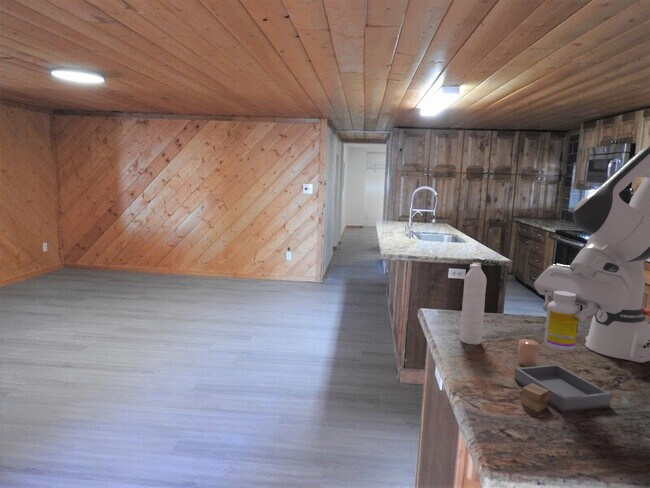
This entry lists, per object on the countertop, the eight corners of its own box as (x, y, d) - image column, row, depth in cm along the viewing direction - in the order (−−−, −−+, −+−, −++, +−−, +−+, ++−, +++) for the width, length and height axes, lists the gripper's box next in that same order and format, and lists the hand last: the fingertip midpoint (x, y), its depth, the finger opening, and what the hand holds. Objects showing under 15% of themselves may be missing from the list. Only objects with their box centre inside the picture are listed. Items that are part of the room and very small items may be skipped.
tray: (555, 375, 113) (557, 364, 112) (609, 406, 98) (611, 393, 97) (514, 379, 110) (515, 368, 109) (563, 412, 94) (564, 399, 94)
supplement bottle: (579, 352, 99) (586, 298, 97) (548, 349, 100) (553, 295, 98) (570, 342, 105) (575, 290, 103) (540, 339, 106) (545, 288, 105)
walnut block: (530, 399, 100) (532, 383, 99) (547, 407, 97) (549, 390, 96) (520, 404, 98) (522, 387, 97) (537, 412, 94) (539, 395, 94)
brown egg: (528, 358, 123) (530, 338, 122) (541, 366, 118) (543, 345, 117) (513, 360, 122) (515, 339, 121) (525, 367, 117) (527, 346, 116)
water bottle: (461, 336, 140) (467, 260, 136) (483, 340, 137) (489, 262, 133) (456, 344, 132) (462, 264, 128) (478, 349, 129) (485, 267, 125)
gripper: (546, 254, 112) (518, 295, 109) (632, 269, 94) (600, 319, 91) (556, 270, 115) (528, 310, 112) (641, 287, 97) (610, 336, 94)
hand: (561, 314), depth 101 cm, fingers closed on supplement bottle, 7 cm apart
